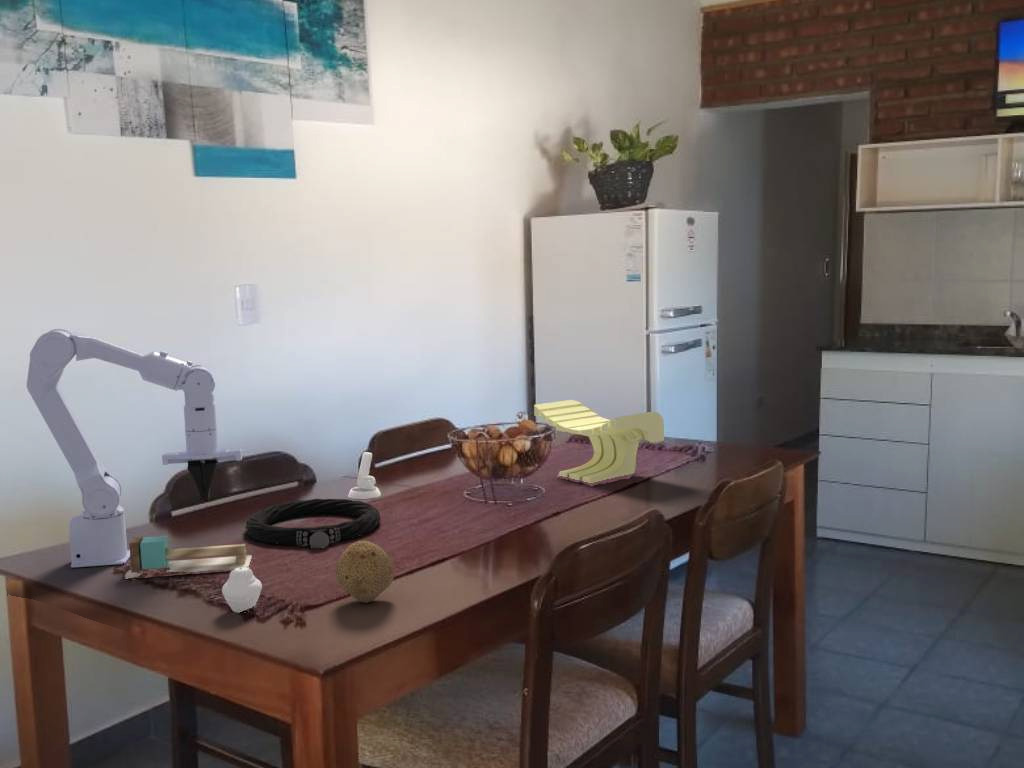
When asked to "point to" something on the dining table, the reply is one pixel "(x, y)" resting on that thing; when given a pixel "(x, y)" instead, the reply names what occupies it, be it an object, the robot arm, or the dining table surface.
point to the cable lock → (312, 535)
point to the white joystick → (365, 481)
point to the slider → (154, 552)
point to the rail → (194, 564)
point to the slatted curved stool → (603, 437)
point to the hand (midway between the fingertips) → (205, 498)
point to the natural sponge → (364, 571)
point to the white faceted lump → (241, 589)
